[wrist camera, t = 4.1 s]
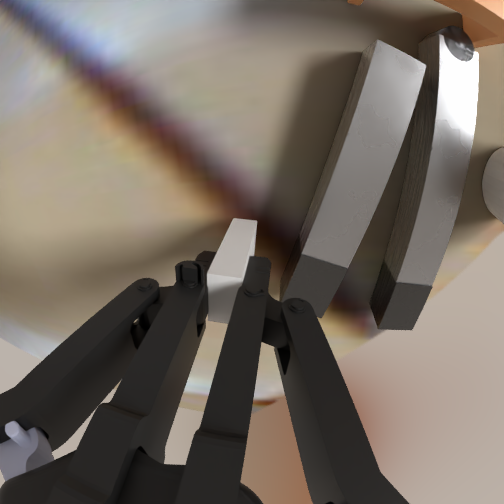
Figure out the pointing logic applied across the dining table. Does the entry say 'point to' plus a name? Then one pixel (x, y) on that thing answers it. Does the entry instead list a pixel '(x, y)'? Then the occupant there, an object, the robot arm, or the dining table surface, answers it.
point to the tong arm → (353, 174)
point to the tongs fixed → (430, 178)
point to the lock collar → (477, 19)
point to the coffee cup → (494, 184)
